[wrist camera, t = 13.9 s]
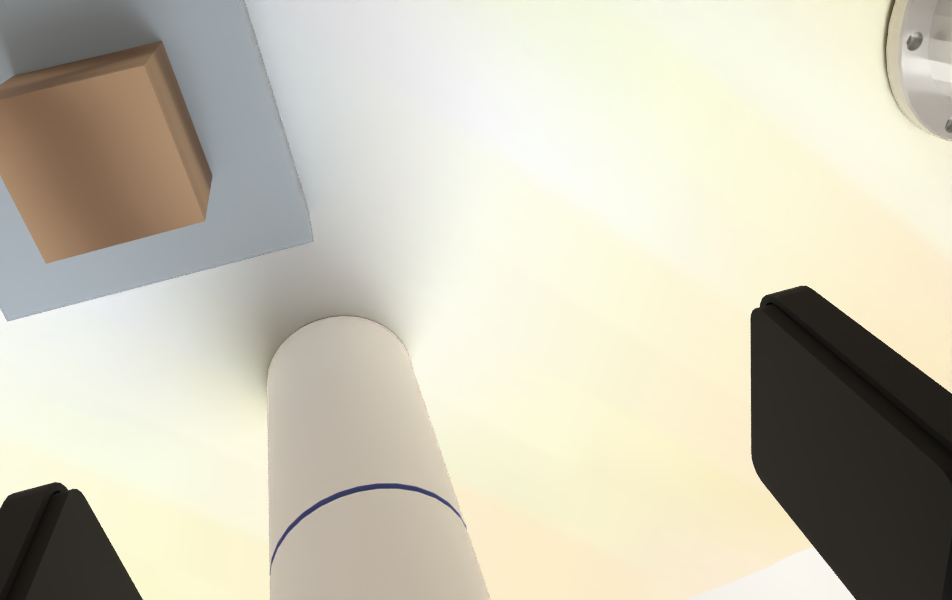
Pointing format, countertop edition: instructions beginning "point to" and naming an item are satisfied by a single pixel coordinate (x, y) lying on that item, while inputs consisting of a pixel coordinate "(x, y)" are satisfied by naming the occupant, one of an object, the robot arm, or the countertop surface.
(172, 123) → the walnut cube
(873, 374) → the robot arm
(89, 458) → the countertop surface
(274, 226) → the grey base block
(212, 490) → the countertop surface
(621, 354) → the countertop surface
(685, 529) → the countertop surface
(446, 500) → the cylindrical container
